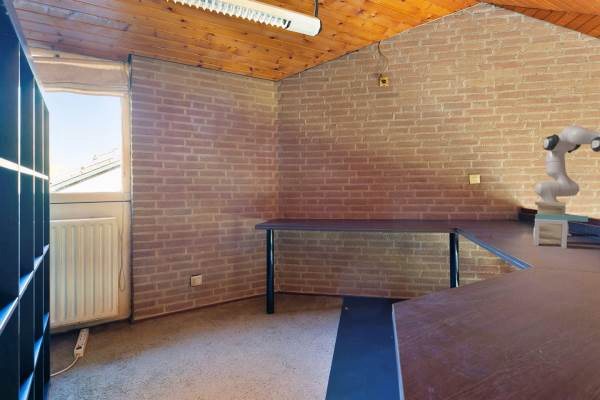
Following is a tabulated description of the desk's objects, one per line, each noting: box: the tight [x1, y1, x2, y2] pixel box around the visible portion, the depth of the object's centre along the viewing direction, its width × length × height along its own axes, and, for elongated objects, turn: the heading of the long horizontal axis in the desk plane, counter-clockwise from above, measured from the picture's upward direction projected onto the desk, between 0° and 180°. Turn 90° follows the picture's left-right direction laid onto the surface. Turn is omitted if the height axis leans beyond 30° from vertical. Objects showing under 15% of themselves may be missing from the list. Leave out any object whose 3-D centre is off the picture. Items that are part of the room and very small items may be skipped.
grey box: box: [533, 218, 569, 249], centre depth 189 cm, size 8×15×16 cm, turn 54°
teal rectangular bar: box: [534, 213, 589, 223], centre depth 186 cm, size 3×24×3 cm, turn 54°
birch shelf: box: [534, 200, 567, 245], centre depth 199 cm, size 8×15×26 cm, turn 54°
